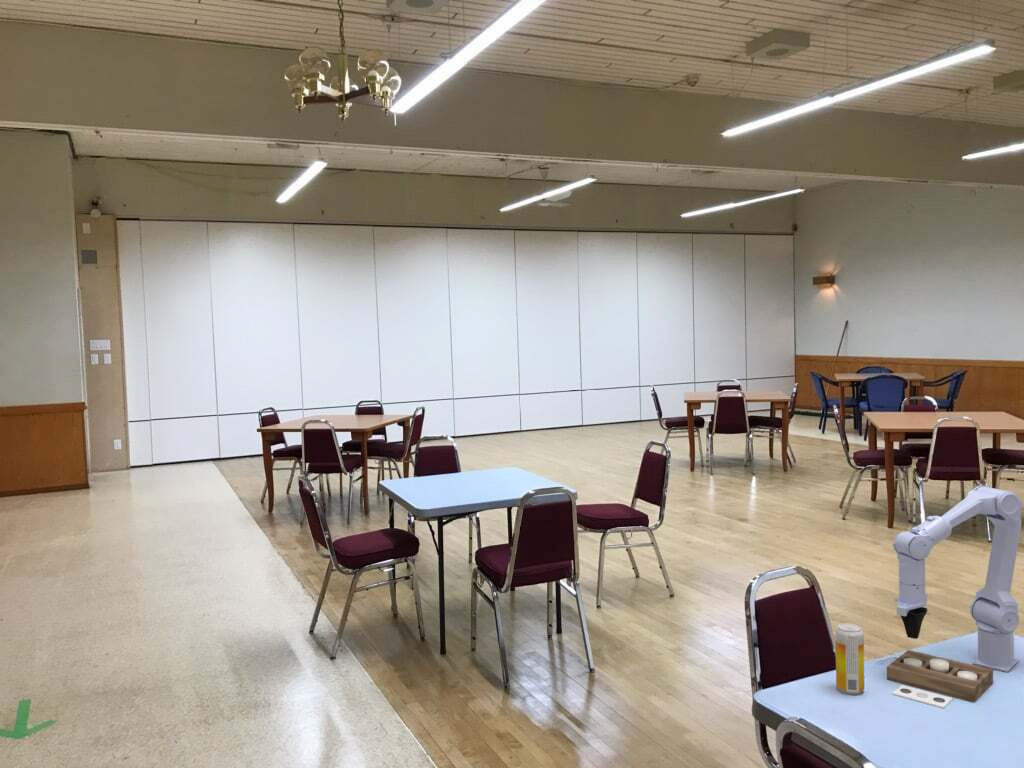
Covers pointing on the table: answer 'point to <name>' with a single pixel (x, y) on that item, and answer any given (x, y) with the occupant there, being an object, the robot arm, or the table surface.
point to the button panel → (940, 676)
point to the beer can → (850, 658)
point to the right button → (967, 675)
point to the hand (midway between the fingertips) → (912, 637)
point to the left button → (913, 662)
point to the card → (922, 696)
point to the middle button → (939, 665)
